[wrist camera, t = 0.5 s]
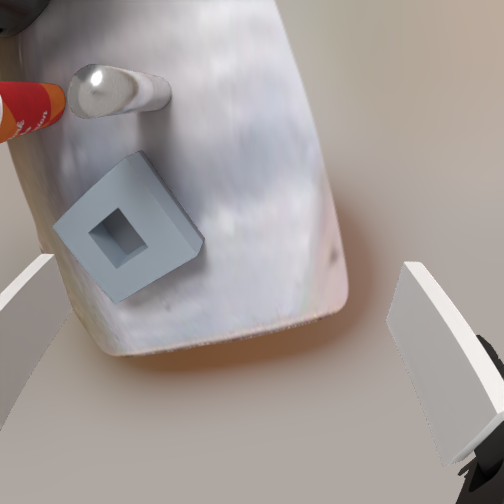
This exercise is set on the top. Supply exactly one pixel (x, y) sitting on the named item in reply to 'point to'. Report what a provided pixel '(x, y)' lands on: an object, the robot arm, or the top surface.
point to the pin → (115, 92)
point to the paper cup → (28, 107)
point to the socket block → (129, 229)
